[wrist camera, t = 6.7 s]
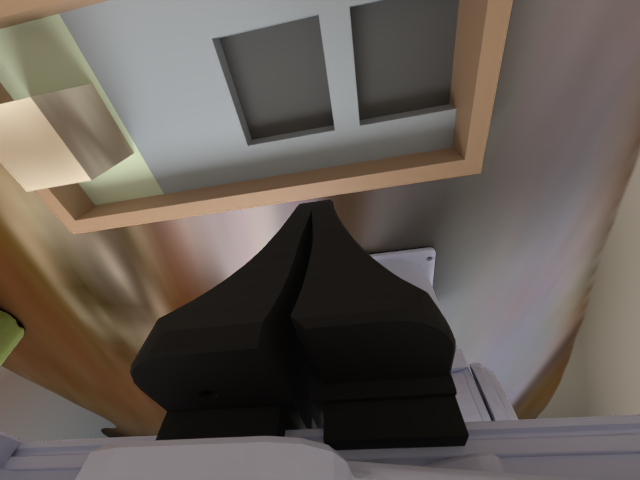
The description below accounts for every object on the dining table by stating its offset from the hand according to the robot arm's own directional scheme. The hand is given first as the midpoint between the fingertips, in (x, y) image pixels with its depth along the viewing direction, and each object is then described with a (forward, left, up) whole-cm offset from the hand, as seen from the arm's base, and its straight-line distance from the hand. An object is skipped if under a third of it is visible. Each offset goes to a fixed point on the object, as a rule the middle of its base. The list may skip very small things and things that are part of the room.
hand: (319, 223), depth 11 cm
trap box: (+4, +5, -9) cm, 11 cm away
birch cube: (+4, +14, -8) cm, 16 cm away
